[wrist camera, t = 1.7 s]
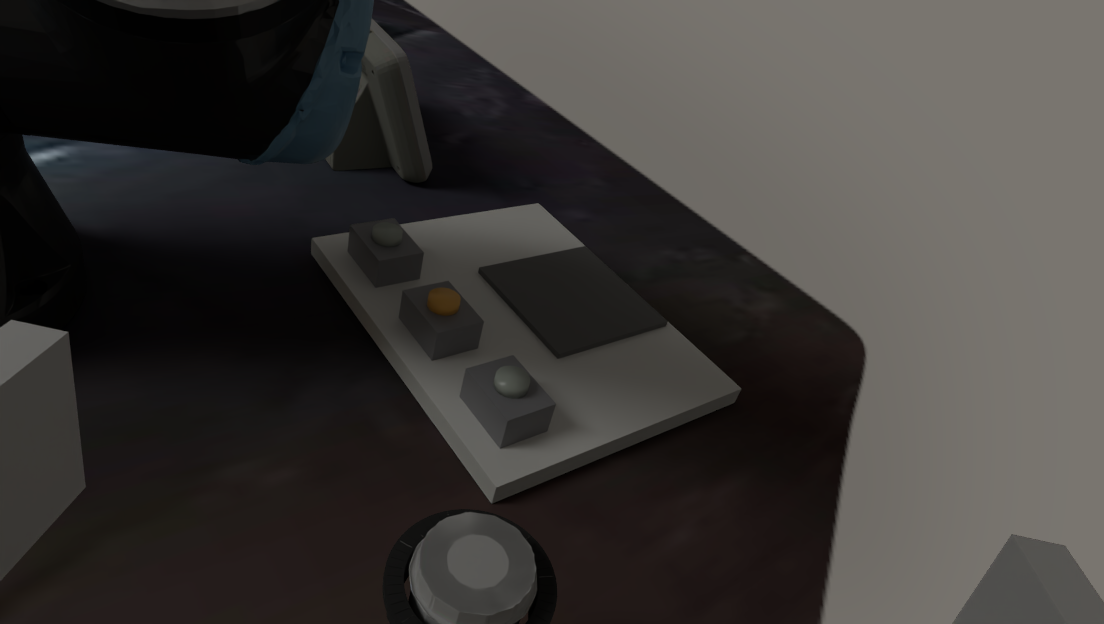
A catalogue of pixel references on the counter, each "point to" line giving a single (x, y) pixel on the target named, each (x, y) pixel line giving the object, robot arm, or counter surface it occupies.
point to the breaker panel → (519, 341)
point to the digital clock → (385, 116)
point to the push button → (468, 572)
